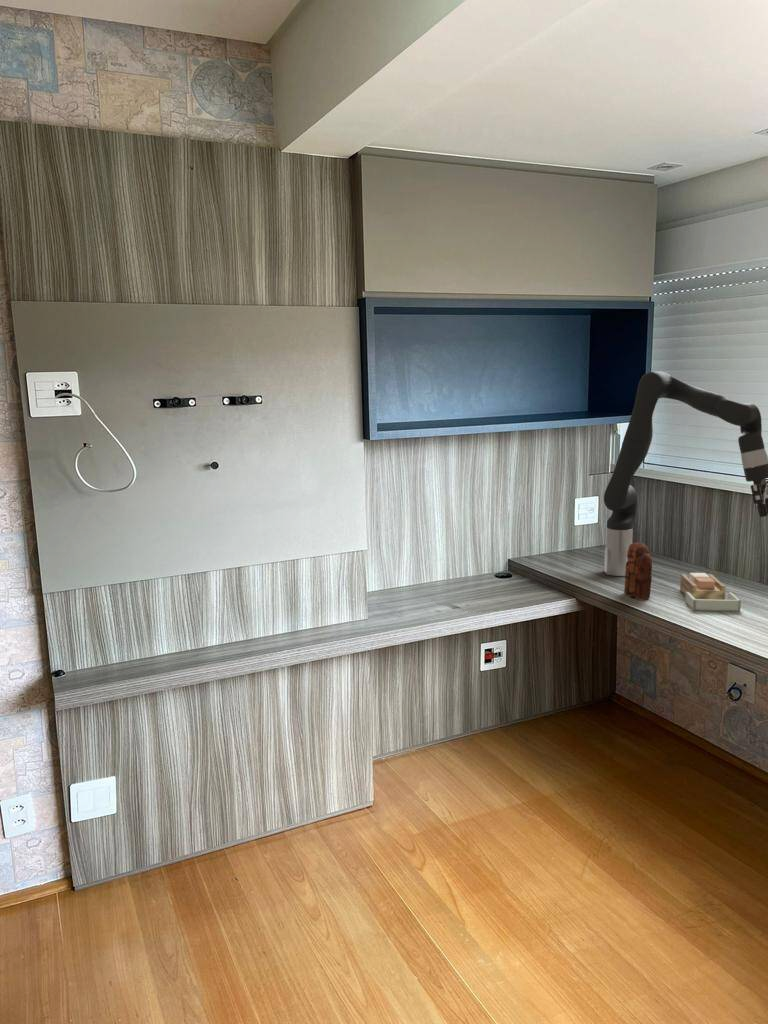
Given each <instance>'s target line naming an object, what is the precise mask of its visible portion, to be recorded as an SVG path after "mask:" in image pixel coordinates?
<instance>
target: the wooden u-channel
mask: <svg viewBox="0 0 768 1024" xmlns="http://www.w3.org/2000/svg"><path fill="white" fill-rule="evenodd" d="M707 575H708V576H709V577H710V578H712V579H713V580H714V581H715V589H699V588H698V587H697V586H696V585H695V584H694V583H693V582H692V581H691V580H690V577H688V575H686V574H685V573H680V585H679V586H680V587H679V590H680V591H681V593H683V594H684V596H685V595H686V592H689V593H690V594H691V595H692V596H693V597H694V598H695V599H706V600H726V599H725V598H726V585H724V583H722V582H721V581H720V580H719V579H718V578H717V577H715V576H714V575H713V574H712V573H708V574H707Z"/></svg>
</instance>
